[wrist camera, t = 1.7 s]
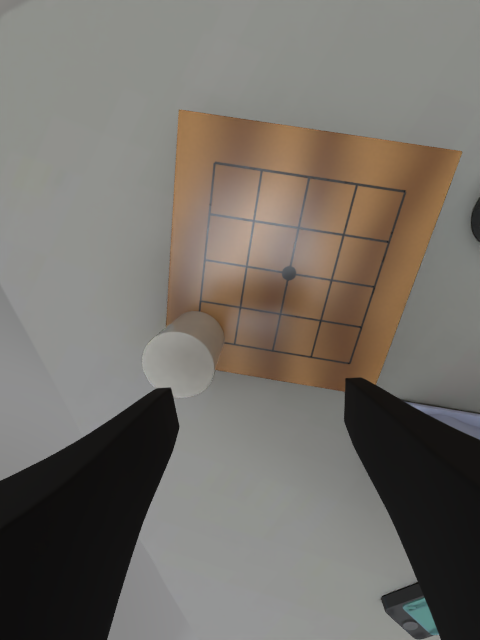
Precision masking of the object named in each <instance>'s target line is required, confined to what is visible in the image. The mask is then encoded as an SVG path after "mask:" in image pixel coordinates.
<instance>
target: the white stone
mask: <svg viewBox="0 0 480 640" xmlns="http://www.w3.org/2000/svg"><path fill="white" fill-rule="evenodd" d="M224 341H225V338H224V332H223V330H222V328H221V326H220V324H219V323H218V322H217V321H216V320H215V319H214V318H213V317H212V316H210V315H208V314H206V313H203V312H199V311H190V312H186V313H183V314H181V315H180V316H178V317H177V318H176V319H175V320H174V321H172V322H171V323H170V324H169V325H168V326H167V327H165V328H164V329H163V330H162V331H161V332H160V333H159V334H157V335H156V336H155V337H154V338H153V339H152V340H151V341H150V342H149V343H148V344H147V346H146V347H145V349H144V352H143V356H142V366H143V371H144V373H145V376H146V378H147V379H148V381H149V382H150V383H151V384H152V385H153V386H154V387H155V388H156V389H157V388H168V387H171V389H172V394H173V397H176V398H189V397H193V396H196V395H198V394H200V393H201V392H203V391H204V390H205V389H206V388H207V387H208V386H209V385H210V383H211V381H212V379H213V377H214V374H215V371H216V368H217V365H218V362H219V359H220V356H221V353H222V350H223V347H224Z"/></svg>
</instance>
